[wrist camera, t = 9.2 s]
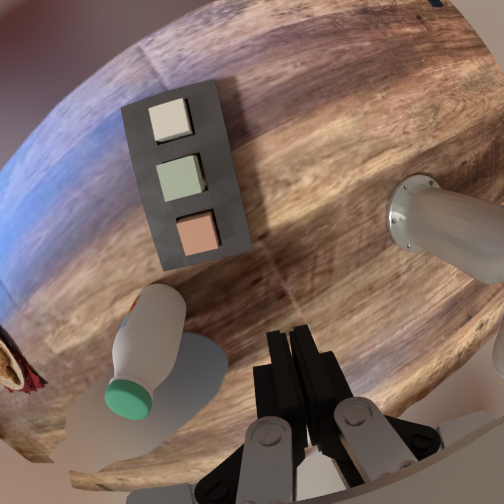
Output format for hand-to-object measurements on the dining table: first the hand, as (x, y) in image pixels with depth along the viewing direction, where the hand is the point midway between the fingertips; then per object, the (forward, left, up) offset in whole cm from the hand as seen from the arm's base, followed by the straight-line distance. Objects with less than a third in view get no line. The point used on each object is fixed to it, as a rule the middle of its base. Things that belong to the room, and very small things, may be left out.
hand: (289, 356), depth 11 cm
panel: (+6, -7, -27) cm, 29 cm away
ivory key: (+6, -14, -27) cm, 31 cm away
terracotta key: (+6, 0, -27) cm, 28 cm away
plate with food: (+67, +15, -28) cm, 74 cm away
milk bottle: (+15, +10, -28) cm, 33 cm away
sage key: (+6, -7, -25) cm, 26 cm away
